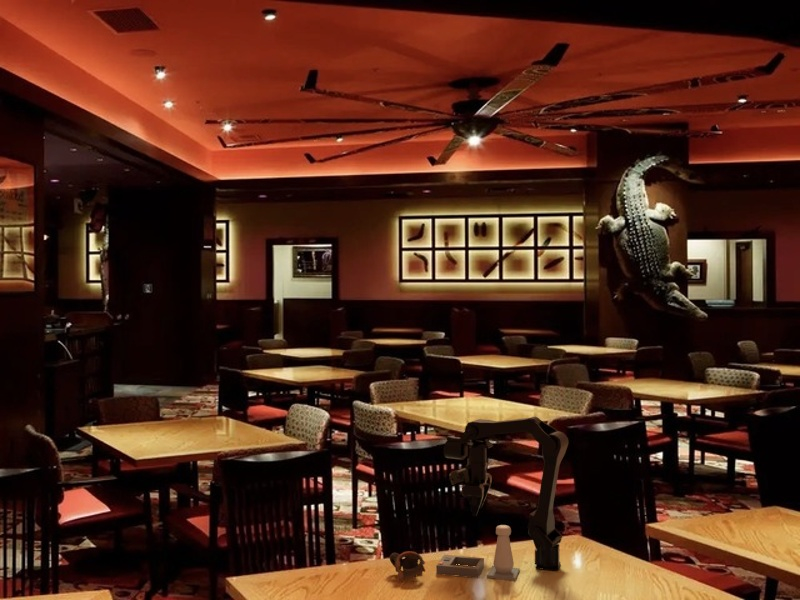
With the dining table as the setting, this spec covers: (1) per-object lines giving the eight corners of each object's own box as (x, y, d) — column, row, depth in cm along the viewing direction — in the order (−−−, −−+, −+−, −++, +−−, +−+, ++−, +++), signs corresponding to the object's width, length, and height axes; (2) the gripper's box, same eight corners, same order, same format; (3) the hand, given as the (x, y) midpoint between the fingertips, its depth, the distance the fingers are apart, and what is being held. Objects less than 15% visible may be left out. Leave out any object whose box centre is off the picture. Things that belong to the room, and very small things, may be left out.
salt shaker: (513, 575, 222) (513, 529, 222) (492, 574, 223) (492, 528, 223) (514, 568, 228) (514, 523, 228) (494, 567, 229) (494, 522, 229)
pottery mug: (432, 575, 226) (431, 556, 222) (414, 599, 220) (412, 579, 216) (398, 558, 233) (396, 538, 228) (379, 580, 226) (377, 560, 222)
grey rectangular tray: (484, 566, 232) (484, 557, 232) (477, 578, 223) (477, 568, 223) (444, 562, 235) (444, 553, 235) (436, 573, 226) (436, 564, 226)
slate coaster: (519, 571, 228) (519, 568, 228) (515, 580, 220) (515, 577, 220) (492, 568, 230) (492, 565, 230) (487, 577, 223) (487, 575, 223)
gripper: (457, 453, 254) (457, 502, 254) (444, 466, 236) (445, 518, 236) (491, 455, 251) (492, 504, 251) (481, 468, 233) (481, 520, 233)
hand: (477, 511), depth 243 cm, fingers open, 9 cm apart
